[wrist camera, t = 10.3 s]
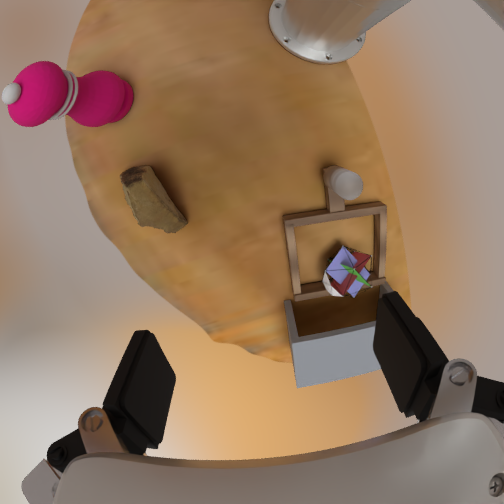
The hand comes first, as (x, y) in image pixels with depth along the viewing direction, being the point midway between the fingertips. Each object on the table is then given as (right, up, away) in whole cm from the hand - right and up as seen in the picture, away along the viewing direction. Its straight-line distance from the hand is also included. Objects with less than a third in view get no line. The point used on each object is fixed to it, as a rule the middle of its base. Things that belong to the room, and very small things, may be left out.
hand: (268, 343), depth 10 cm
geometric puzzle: (+13, +2, +28) cm, 31 cm away
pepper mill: (-19, +24, +18) cm, 35 cm away
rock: (-13, +11, +24) cm, 30 cm away
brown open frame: (+11, +7, +26) cm, 29 cm away
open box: (+14, -7, +32) cm, 36 cm away
